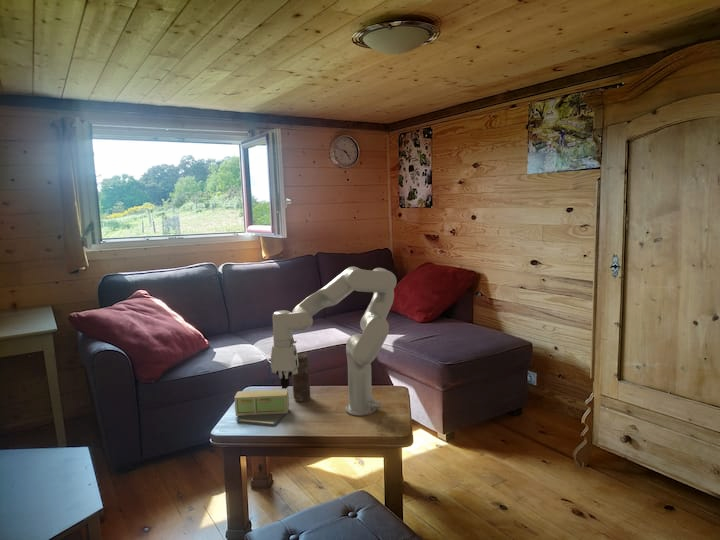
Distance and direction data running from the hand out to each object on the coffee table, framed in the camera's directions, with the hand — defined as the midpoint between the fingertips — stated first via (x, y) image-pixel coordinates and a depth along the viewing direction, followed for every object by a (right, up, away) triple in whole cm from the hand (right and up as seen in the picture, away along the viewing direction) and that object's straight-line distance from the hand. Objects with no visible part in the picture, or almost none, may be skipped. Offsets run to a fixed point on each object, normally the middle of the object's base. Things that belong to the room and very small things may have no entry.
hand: (285, 387), depth 194 cm
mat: (-10, -13, +4) cm, 17 cm away
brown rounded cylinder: (+4, -11, +21) cm, 24 cm away
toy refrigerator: (0, -8, +7) cm, 10 cm away
